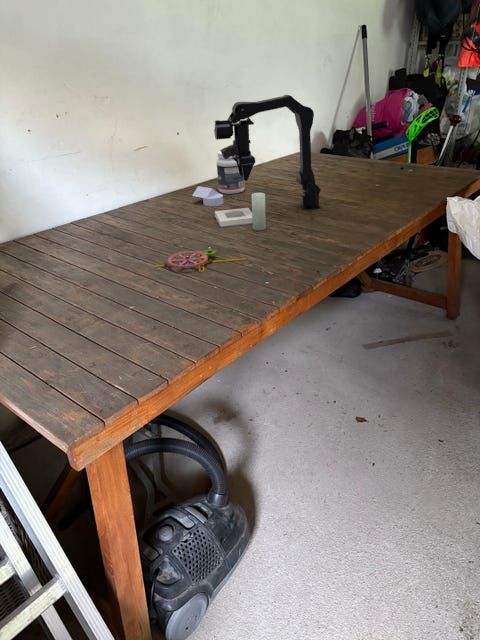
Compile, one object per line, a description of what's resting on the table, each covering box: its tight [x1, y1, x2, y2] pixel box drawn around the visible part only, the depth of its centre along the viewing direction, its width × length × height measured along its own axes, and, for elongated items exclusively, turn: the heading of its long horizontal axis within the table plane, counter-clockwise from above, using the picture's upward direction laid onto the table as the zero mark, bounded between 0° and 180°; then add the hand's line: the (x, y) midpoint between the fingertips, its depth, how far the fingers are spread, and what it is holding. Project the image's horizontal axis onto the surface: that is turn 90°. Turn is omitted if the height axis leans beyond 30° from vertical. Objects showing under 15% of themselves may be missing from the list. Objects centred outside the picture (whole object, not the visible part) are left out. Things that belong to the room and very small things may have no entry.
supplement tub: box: [216, 150, 246, 195], centre depth 238 cm, size 13×13×18 cm
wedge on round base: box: [192, 185, 224, 207], centre depth 225 cm, size 9×7×13 cm
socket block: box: [214, 207, 253, 228], centre depth 202 cm, size 14×14×2 cm
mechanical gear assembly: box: [154, 246, 248, 274], centre depth 164 cm, size 30×4×15 cm
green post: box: [251, 192, 267, 231], centre depth 189 cm, size 5×5×13 cm
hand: (243, 178), depth 202 cm, fingers open, 9 cm apart
